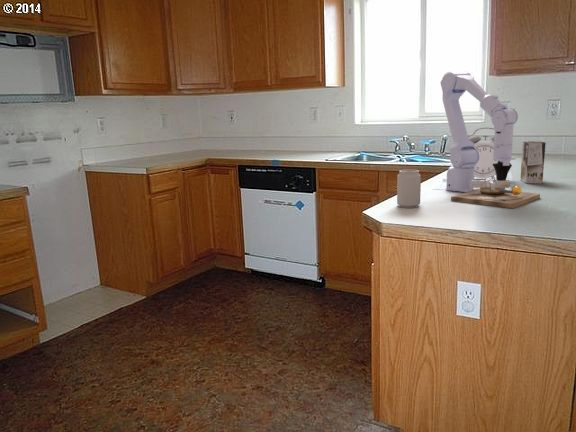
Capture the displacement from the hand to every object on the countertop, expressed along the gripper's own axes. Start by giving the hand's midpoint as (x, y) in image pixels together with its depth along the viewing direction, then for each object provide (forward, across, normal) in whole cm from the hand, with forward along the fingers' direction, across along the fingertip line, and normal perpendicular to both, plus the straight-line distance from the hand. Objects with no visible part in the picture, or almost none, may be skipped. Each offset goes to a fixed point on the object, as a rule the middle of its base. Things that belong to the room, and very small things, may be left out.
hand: (501, 183), depth 170 cm
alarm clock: (+5, +36, 0) cm, 37 cm away
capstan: (+3, -4, +3) cm, 5 cm away
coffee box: (+5, +31, -17) cm, 36 cm away
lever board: (+4, -6, +3) cm, 8 cm away
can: (+5, -17, +32) cm, 36 cm away
